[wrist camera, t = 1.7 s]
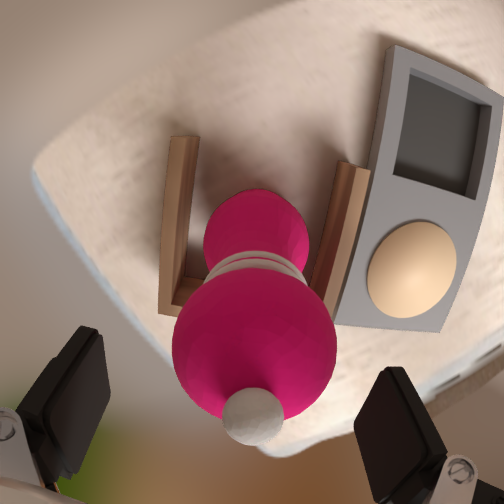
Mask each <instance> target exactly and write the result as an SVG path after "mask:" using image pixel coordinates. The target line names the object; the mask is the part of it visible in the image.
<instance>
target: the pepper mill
mask: <svg viewBox="0 0 504 504" xmlns="http://www.w3.org/2000/svg"><path fill="white" fill-rule="evenodd" d="M203 251H204V257H205V260H206V264H207V267H208V269H209V272H210V273H209V274H208V276H207V277H206V279H205V281H204V283H203V285H201V286H200V287H199V288H198V289H197V290H196V291H195V292H194V293H193V294H192V295H191V296H190V298H189V299H188V300H187V302H186V303H185V305H184V306H183V308H182V309H181V311H180V313H179V315H178V318H177V321H176V324H175V327H174V332H173V338H172V358H173V364H174V369H175V372H176V374H177V377H178V379H179V381H180V383H181V386H182V387H183V389H184V390H185V391H186V393H187V394H188V395H189V397H190V398H191V399H192V400H193V401H194V402H195V403H196V404H197V405H198V406H199V407H201V408H202V409H204V410H205V411H207V412H208V413H210V414H211V415H214V416H216V417H218V418H220V419H222V421H223V426H224V427H225V429H226V431H227V433H228V434H229V435H230V436H231V437H232V438H233V439H235V440H237V441H238V442H240V443H242V444H245V445H252V446H253V445H261V444H264V443H267V442H268V441H270V440H271V439H273V438H274V437H275V436H277V434H278V433H279V431H280V430H281V428H282V425H283V421H284V420H286V419H289V418H291V417H293V416H296V415H298V414H300V413H301V412H303V411H304V410H305V409H307V408H308V407H309V406H310V405H311V404H313V403H314V402H315V401H316V400H317V399H318V397H319V396H320V395H321V394H322V392H323V391H324V389H325V388H326V386H327V384H328V382H329V381H330V379H331V377H332V373H333V370H334V367H335V364H336V354H337V337H336V332H335V327H334V324H333V322H332V319H331V317H330V314H329V312H328V310H327V308H326V306H325V304H324V303H323V301H322V300H321V299H320V298H319V296H318V295H317V294H316V293H315V292H314V291H313V290H312V289H311V288H309V287H308V285H307V282H306V280H305V278H304V277H303V275H302V271H303V269H304V266H305V264H306V261H307V258H308V253H309V238H308V232H307V228H306V225H305V223H304V220H303V219H302V217H301V215H300V214H299V212H298V211H297V210H296V208H295V207H293V206H292V205H291V204H290V203H289V202H287V201H286V200H284V199H283V198H281V197H280V196H278V195H277V194H275V193H273V192H271V191H268V190H264V189H250V190H246V191H242V192H240V193H238V194H236V195H234V196H233V197H231V198H229V199H228V200H226V201H225V202H224V203H222V204H221V205H220V206H219V207H218V208H217V209H216V210H215V211H214V213H213V214H212V216H211V217H210V219H209V221H208V224H207V226H206V230H205V235H204V242H203Z"/></svg>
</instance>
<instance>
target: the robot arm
mask: <svg viewBox="0 0 504 504" xmlns="http://www.w3.org/2000/svg"><path fill="white" fill-rule="evenodd" d="M110 393H111V392H110V386H109V379H108V373H107V366H106V359H105V351H104V343H103V337H102V335H100V334H99V333H98V330H96V329H93V328H90V327H85V326H80V327H79V328H78V329H77V330H76V332H75V333H74V334H73V336H72V337H71V338H70V340H69V341H68V342H67V343H66V345H65V346H64V347H63V349H62V350H61V352H60V353H59V354H58V356H57V357H55V358H53V359H52V360H51V361H50V362H49V363H48V365H47V366H46V368H45V369H44V370H43V372H42V373H41V374H40V376H39V377H38V378H37V380H36V381H35V383H34V384H33V386H32V387H31V388H30V390H29V391H28V393H27V394H26V396H25V397H24V398H23V400H22V402H21V403H20V404H19V406H18V407H17V409H16V411H13V410H11V409H9V408H5V407H0V504H87V503H84V502H81V501H78V500H75V499H72V498H70V497H67V496H64V495H62V494H60V493H59V490H58V487H57V485H56V483H55V482H57V480H58V478H59V476H62V477H64V478H67V479H71V477H72V475H73V473H74V474H77V473H78V471H79V469H80V467H81V465H82V462H83V460H84V457H85V455H86V452H87V450H88V448H89V445H90V443H91V440H92V438H93V436H94V434H95V431H96V429H97V426H98V424H99V422H100V420H101V418H102V415H103V413H104V411H105V409H106V406H107V404H108V402H109V399H110ZM354 432H355V435H356V438H357V442H358V445H359V448H360V452H361V456H362V459H363V462H364V466H365V470H366V473H367V477H368V480H369V484H370V488H371V492H372V495H373V499H374V501H375V502H376V503H378V504H504V491H503V490H501V489H499V488H496V487H494V486H492V485H490V484H488V483H485V482H483V481H481V480H479V479H477V478H478V471H477V467H476V466H475V464H474V463H473V462H472V461H471V460H470V459H469V458H467V457H465V456H462V455H453V456H450V457H449V458H447V456H446V454H447V452H448V451H447V449H446V447H445V445H444V443H443V441H442V439H441V437H440V435H439V433H438V431H437V429H436V427H435V426H434V423H433V422H432V420H431V418H430V416H429V414H428V412H427V410H426V408H425V406H424V404H423V402H422V401H421V399H420V397H419V395H418V393H417V391H416V389H415V388H414V386H413V384H412V382H411V380H410V379H409V377H408V375H407V373H406V371H405V370H404V368H403V367H386V368H385V369H384V371H381V372H380V373H379V375H378V377H377V379H376V381H375V383H374V385H373V387H372V389H371V391H370V393H369V395H368V397H367V399H366V401H365V402H364V404H363V406H362V408H361V410H360V412H359V413H358V415H357V417H356V419H355V421H354Z"/></svg>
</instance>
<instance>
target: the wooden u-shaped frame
mask: <svg viewBox="0 0 504 504" xmlns="http://www.w3.org/2000/svg"><path fill="white" fill-rule="evenodd" d="M199 141H200V137H195V136H171V141H170V149H169V157H168V165H167V175H166V184H165V194H164V205H163V218H162V231H161V247H160V265H159V291H158V314H163V315H168V316H174V317H178V315H179V313H180V311H181V309H182V308H183V306H184V305H185V303H186V302H187V300H188V299H189V298H190V296H191V295H192V294H193V293H194V292H195V291H196V290H197V289H198V288H199V287H200V286H201V285H203V283H204V281H205V280H203V279H197V278H191V277H185V264H186V252H187V241H188V231H189V221H190V212H191V203H192V194H193V186H194V178H195V170H196V162H197V155H198V148H199ZM369 176H370V170H368V169H365V168H362V167H359V166H356V165H353V164H351V163H347V162H342V161H338V165H337V170H336V175H335V180H334V184H333V189H332V194H331V199H330V203H329V208H328V212H327V217H326V221H325V225H324V230H323V234H322V238H321V242H320V247H319V251H318V255H317V259H316V263H315V267H314V271H313V275H312V279H311V283H310V287H309V288H311V289H312V290H313V291H314V292H315V293H316V294H317V295H318V296H319V298H320V299H321V300H322V301H323V303H324V304H325V306H326V308H327V310H328V312H329V314H330V317H332V314H333V311H334V308H335V305H336V302H337V298H338V295H339V292H340V289H341V285H342V282H343V278H344V275H345V272H346V268H347V265H348V261H349V257H350V254H351V250H352V246H353V243H354V239H355V235H356V231H357V227H358V223H359V219H360V215H361V211H362V207H363V203H364V198H365V194H366V190H367V185H368V181H369Z"/></svg>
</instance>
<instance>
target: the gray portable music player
mask: <svg viewBox="0 0 504 504" xmlns="http://www.w3.org/2000/svg"><path fill="white" fill-rule="evenodd" d="M503 105H504V97H503V96H501V95H499V94H498V93H496V92H495V91H493V90H491V89H489V88H488V87H486V86H484V85H482V84H481V83H479V82H477V81H475V80H473V79H471V78H470V77H468V76H466V75H464V74H462V73H460V72H458V71H456V70H454V69H452V68H450V67H448V66H446V65H443V64H441V63H439V62H437V61H435V60H432V59H430V58H428V57H426V56H423V55H421V54H418V53H416V52H414V51H411V50H409V49H406V48H403V47H401V46H398V45H393V46H392V47H390V48H388V49H387V50H386V55H385V63H384V71H383V78H382V85H381V92H380V98H379V105H378V111H377V117H376V123H375V128H374V134H373V139H372V145H371V150H370V155H369V160H368V165H367V169H368V170H370V176H369V181H368V185H367V190H366V194H365V198H364V203H363V207H362V211H361V215H360V219H359V223H358V227H357V231H356V235H355V239H354V243H353V246H352V250H351V254H350V257H349V261H348V265H347V268H346V272H345V275H344V278H343V282H342V285H341V289H340V292H339V295H338V298H337V302H336V305H335V308H334V311H333V314H332V317H331V319H332V322H333V324H336V325H345V326H355V327H366V328H377V329H389V330H402V331H417V332H433V333H440V331H441V329H442V327H443V325H444V323H445V320H446V318H447V316H448V314H449V311H450V309H451V307H452V304H453V302H454V300H455V297H456V295H457V292H458V290H459V287H460V285H461V282H462V279H463V277H464V274H465V271H466V268H467V266H468V263H469V260H470V257H471V254H472V251H473V248H474V245H475V242H476V239H477V235H478V232H479V229H480V225H481V222H482V218H483V215H484V211H485V207H486V203H487V199H488V195H489V191H490V187H491V182H492V177H493V173H494V168H495V162H496V157H497V151H498V145H499V138H500V131H501V124H502V115H503Z"/></svg>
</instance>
